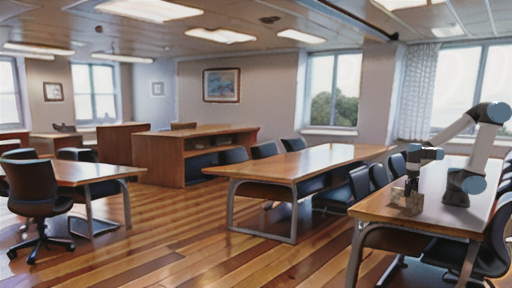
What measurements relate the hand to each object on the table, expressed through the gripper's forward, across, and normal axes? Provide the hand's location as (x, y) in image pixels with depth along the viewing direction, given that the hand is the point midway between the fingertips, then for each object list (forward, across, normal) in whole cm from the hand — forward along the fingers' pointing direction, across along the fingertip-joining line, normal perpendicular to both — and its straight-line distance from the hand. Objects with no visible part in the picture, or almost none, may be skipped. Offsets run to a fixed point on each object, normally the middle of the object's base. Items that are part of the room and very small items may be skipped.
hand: (410, 206), depth 182 cm
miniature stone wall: (0, +9, +6) cm, 11 cm away
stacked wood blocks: (0, 0, -5) cm, 5 cm away
